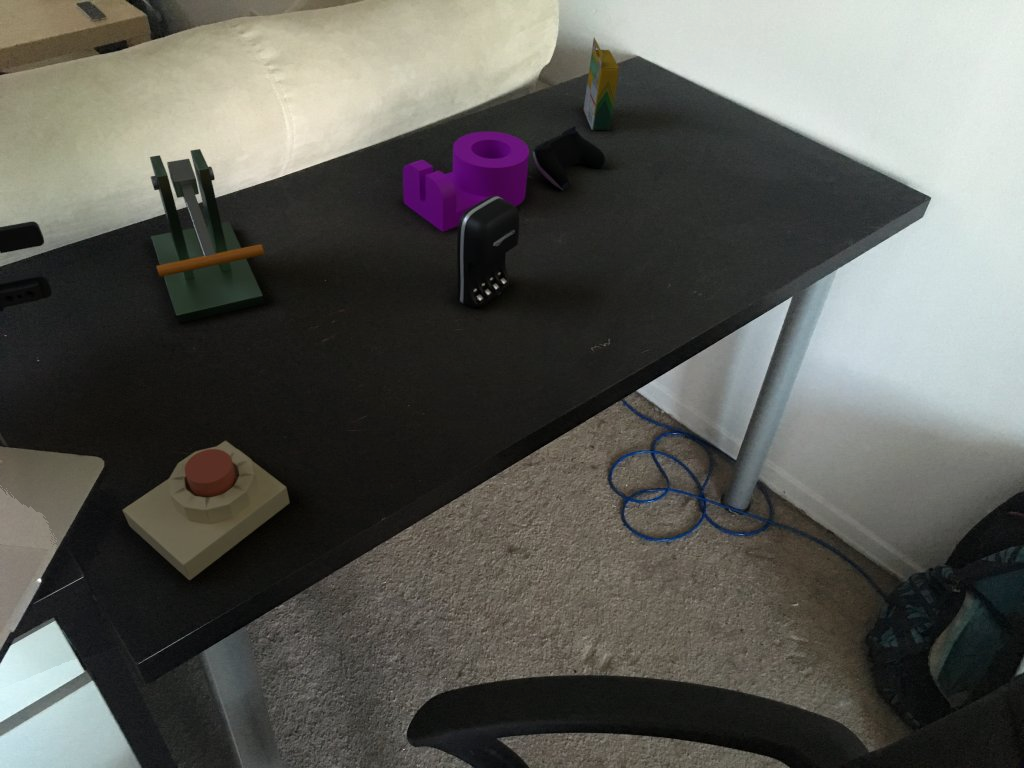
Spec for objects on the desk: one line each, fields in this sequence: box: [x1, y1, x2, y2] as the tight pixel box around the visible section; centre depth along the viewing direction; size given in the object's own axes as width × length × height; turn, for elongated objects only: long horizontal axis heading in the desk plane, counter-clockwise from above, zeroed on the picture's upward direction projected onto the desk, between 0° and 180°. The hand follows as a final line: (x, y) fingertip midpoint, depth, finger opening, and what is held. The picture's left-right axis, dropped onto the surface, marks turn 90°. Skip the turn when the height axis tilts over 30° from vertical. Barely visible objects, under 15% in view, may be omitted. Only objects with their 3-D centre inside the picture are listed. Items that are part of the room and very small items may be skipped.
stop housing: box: [122, 440, 291, 581], centre depth 64 cm, size 10×8×4 cm
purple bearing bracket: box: [402, 131, 530, 233], centre depth 103 cm, size 16×10×6 cm, turn 131°
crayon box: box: [583, 37, 620, 131], centre depth 121 cm, size 7×3×12 cm, turn 7°
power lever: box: [155, 158, 265, 278], centre depth 79 cm, size 13×10×2 cm
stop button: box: [185, 448, 236, 497], centre depth 63 cm, size 4×4×2 cm
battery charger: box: [456, 196, 520, 309], centre depth 86 cm, size 7×4×11 cm, turn 142°
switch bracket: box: [149, 148, 265, 325], centre depth 85 cm, size 16×9×14 cm, turn 27°
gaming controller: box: [532, 125, 606, 191], centre depth 111 cm, size 11×4×7 cm
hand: (44, 257), depth 70 cm, fingers open, 8 cm apart
